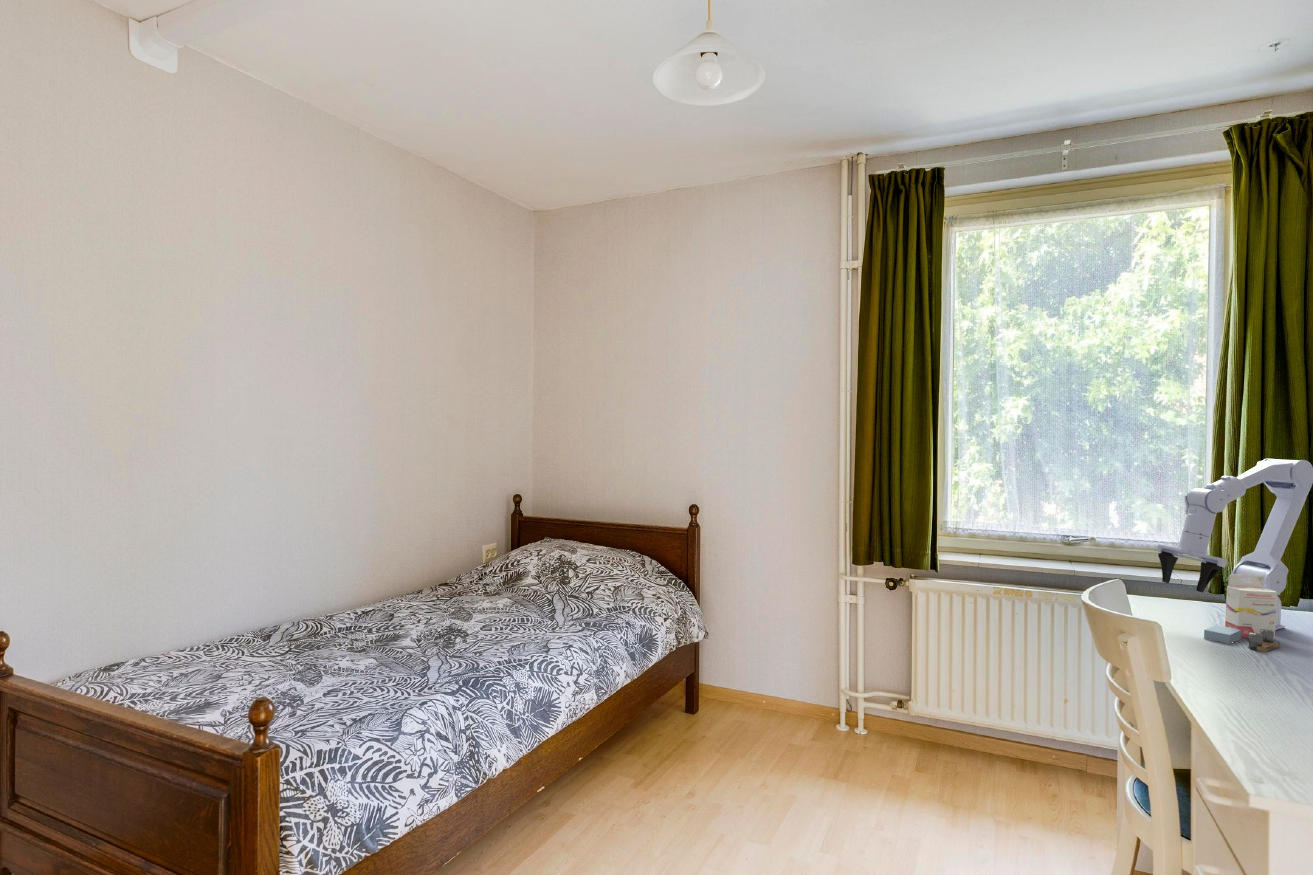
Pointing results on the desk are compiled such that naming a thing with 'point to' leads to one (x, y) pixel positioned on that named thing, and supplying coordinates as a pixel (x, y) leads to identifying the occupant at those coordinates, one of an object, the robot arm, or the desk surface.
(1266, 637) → the bench dogs
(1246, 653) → the desk surface
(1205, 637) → the pale blue chamfered block
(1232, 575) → the ink cartridge box
